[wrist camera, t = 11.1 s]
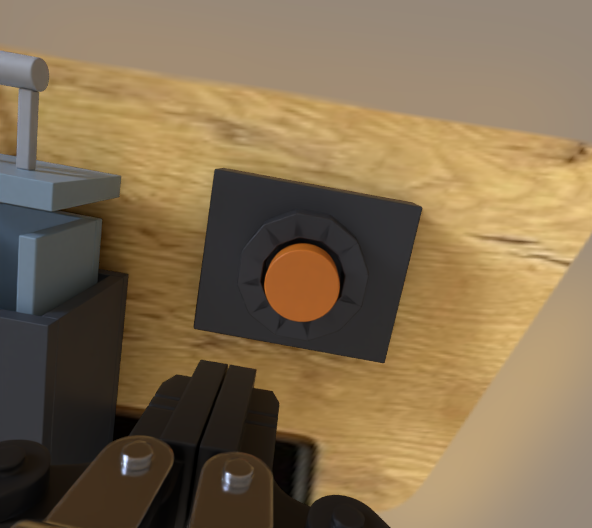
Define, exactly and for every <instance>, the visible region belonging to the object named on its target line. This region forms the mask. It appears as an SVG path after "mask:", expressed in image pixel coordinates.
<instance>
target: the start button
mask: <svg viewBox="0 0 592 528" xmlns="http://www.w3.org/2000/svg"><path fill="white" fill-rule="evenodd" d="M264 289H265V294H266V297H267V300H268V302H269V304H270V305H271V307H272V308H273V309H274V310H275V311H276V312H277V313H278V314H280V315H281V316H283V317H284V318H286V319H289V320H292V321H297V322H308V321H313V320H316V319H318V318H320V317H322V316H324V315H325V314H326V313H328V312H329V311H330V310H331V308H332V307H333V306H334V304H335V303H336V301H337V298H338V295H339V290H340V282H339V276H338V271H337V267H336V265H335V262H334V261H333V259H332V258H331V256H330V255H329V254H328V253H327V252H326V251H325V250H323V249H322V248H320V247H318V246H316V245H313V244H309V243H297V244H292V245H289V246H287V247H285V248H283V249H282V250H281V251H279V252H278V253H277V254H276V255H275V257H274V258H273V260H272V261H271V263H270V266H269V268H268V271H267V273H266V277H265V283H264Z"/></svg>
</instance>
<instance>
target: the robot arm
mask: <svg viewBox="0 0 592 528" xmlns="http://www.w3.org/2000/svg"><path fill="white" fill-rule="evenodd" d="M256 371H257V369H251V368H246V367H240V366H234V365H230V366H229V368H228V364H223V363H217V362H211V361H206V360H200V362H199V364H198V366H197V368H196V369H195V371H194V373H193V375H192V377H188V376H182V375H175V376H173V377H172V378H170V379H168V380H167V381H165V382H163V383H162V384H161V386H160V388H159V389H158V391H157V392H156V394H155V397H153V399H152V400H151V402H150V403H149V406H147V408H146V410H145V411H144V413H143V414H142V416H141V417H140V419H139V421H138V422H137V424H136V425H135V427H134V428H133V430H132V432H131V433H130V435H129V436H127V437H123V438H120V439H117V440H115V441H113V442H111V443H110V444H108V445H107V446H106V447H105V448H104V449H103V450H102V451H101V452H100V453H99V454H98V455H97V457H96V458H95V459H94V460H93V461H92V462H88V463H80V464H65V465H50V464H51V455H50V452H49V450H48V449H47V448H46V447H45V446H43V445H42V444H40V443H37V442H35V441H30V440H6V441H1V442H0V528H187V526H188V528H390V527H389V526H388V525H387V524H386V523H385V522H384V521H383V520H382V519H381V518H380V517H379V516H378V515H377V514H376V513H375V512H374V511H373V510H372V509H371V508H369V507H368V506H367V505H365V504H364V503H362V502H360V501H358V500H356V499H354V498H351V497H347V496H342V495H329V496H325V497H322V498H320V499H318V500H316V501H315V502H314V503H313V504H312V506H311V507H310V506H308V505H305V504H303V503H301V502H299V501H297V500H295V499H293V498H291V497H290V496H288V495H287V494H286V493H285V492H283V491H282V490H281V489H280V487H279V486H278V485H277V483H276V482H275V480H274V477H273V473H272V466H273V457H274V448H275V439H276V430H277V421H278V412H279V402H278V400H277V398H276V396H275V395H274V393H273V391H268V390H262V389H257V388H254V383H255V377H256Z"/></svg>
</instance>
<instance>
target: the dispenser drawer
mask: <svg viewBox="0 0 592 528" xmlns="http://www.w3.org/2000/svg"><path fill="white" fill-rule="evenodd" d="M48 82H49V70H48V66H47V64H46V62H45V61H44V60H43V59H41V58H38V57H32V56H27V55H21V54H16V53H11V52H5V51H0V85H6V86H11V87H17V88H19V101H18V132H17V157H16V156H11V155H5V154H0V309H3V310H9V311H14V312H20V313H25V314H31V315H36V316H42V315H44V314H46V313H47V312H49V311H51V310H52V309H54V308H56V307H57V306H59V305H61V304H63V303H64V302H66V301H68V300H69V299H71V298H73V297H74V296H76V295H78V294H79V293H81V292H83V291H85V290H86V289H88V288H90V287H91V286H93V285H95V284H96V283H97V281H98V268H99V255H100V243H101V230H102V219H101V218H95V217H90V216H84V215H79V214H73V213H68V212H62V211H57V210H61V209H66V208H70V207H75V206H80V205H84V204H89V203H94V202H98V201H103V200H108V199H112V198H117V197H119V195H120V184H121V176H119V175H114V174H109V173H103V172H98V171H92V170H87V169H81V168H76V167H70V166H65V165H60V164H54V163H49V162H43V161H38V160H36V151H37V128H38V105H39V92H41V91H44V90H45V89H46V88H47V86H48ZM37 91H38V92H37Z"/></svg>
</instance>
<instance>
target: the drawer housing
mask: <svg viewBox="0 0 592 528" xmlns="http://www.w3.org/2000/svg"><path fill="white" fill-rule="evenodd" d="M127 286H128V274H125V273H119V272H114V271H108V270H103V269H98V281H97V283H96V284H95V285H93V286H91V287H90V288H88V289H86V290H85V291H83V292H81V293H79V294H78V295H76V296H74V297H73V298H71V299H69V300H68V301H66V302H64V303H63V304H61V305H59V306H57V307H56V308H54V309H52V310H51V311H49V312H47V313H46V314H44V315H42V316H36V315H31V314H25V313H20V312H14V311H9V310H3V309H0V442H1V441H6V440H30V441H35V442H37V443H40V444H42V445H43V446H45V447H46V448H47V449H48V450H49V452H50V455H51V464H50V465H65V464H80V463H88V462H92V461H93V460H94V459H95V458H96V457H97V455H98V454H99V453H100V452H101V451H102V450H103V449H104V448H105V447H106V446H107V445H108V444H110V443H111V442H113V433H114V422H115V412H116V401H117V391H118V380H119V370H120V359H121V349H122V338H123V328H124V317H125V307H126V296H127Z"/></svg>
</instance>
